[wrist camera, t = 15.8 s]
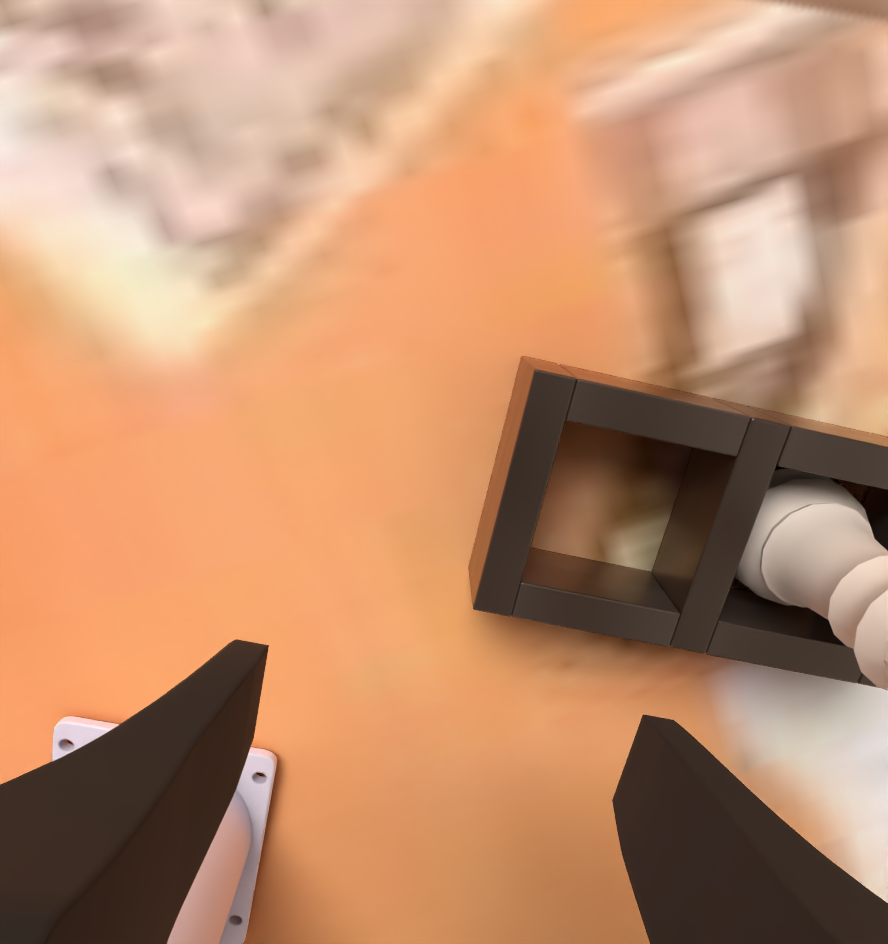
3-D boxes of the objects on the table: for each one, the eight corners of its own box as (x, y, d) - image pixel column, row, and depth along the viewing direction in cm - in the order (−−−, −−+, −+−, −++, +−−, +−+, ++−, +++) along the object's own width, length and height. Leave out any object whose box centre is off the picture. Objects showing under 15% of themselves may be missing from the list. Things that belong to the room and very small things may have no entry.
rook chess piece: (867, 538, 23) (1086, 673, 15) (752, 609, 23) (906, 773, 16) (805, 436, 22) (1006, 526, 14) (687, 514, 22) (817, 641, 15)
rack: (924, 444, 22) (998, 471, 19) (838, 640, 24) (893, 691, 21) (521, 355, 21) (534, 368, 18) (468, 567, 23) (472, 610, 20)
